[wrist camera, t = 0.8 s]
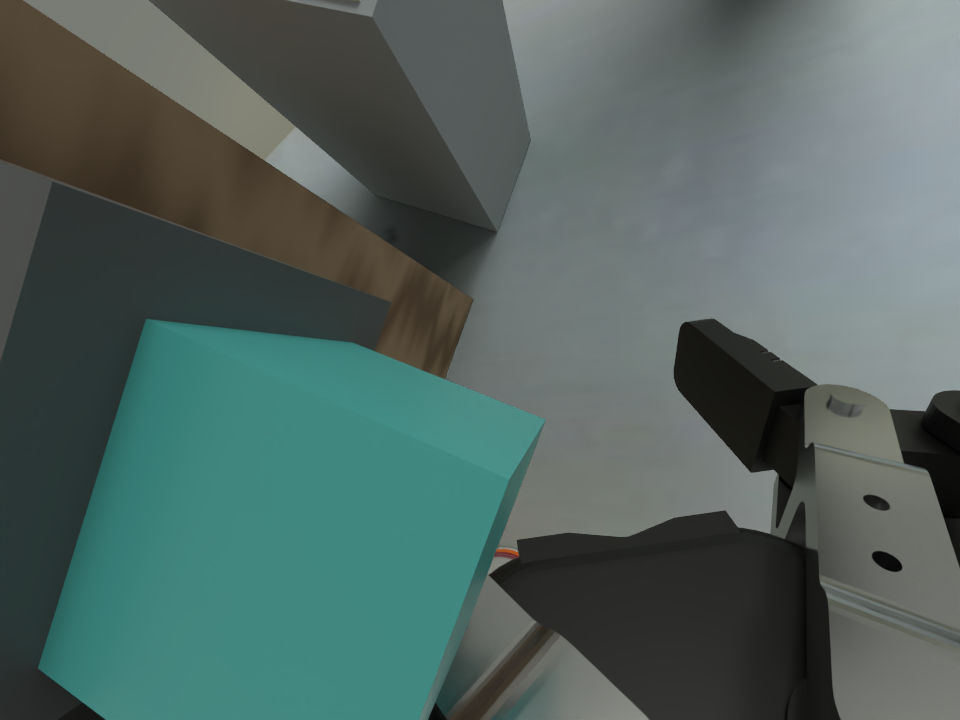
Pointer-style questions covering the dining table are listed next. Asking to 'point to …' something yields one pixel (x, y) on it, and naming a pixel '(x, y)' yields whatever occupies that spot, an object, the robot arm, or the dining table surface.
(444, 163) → the grey square pillar
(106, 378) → the grey teal-ended bar
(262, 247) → the walnut stand
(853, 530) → the robot arm
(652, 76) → the dining table surface
